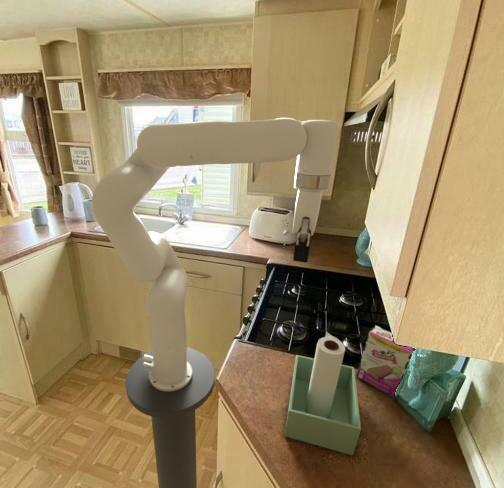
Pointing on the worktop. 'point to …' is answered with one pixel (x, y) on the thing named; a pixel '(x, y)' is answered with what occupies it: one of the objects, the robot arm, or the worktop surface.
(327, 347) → the paper towel roll
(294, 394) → the bin
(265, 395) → the worktop surface
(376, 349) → the candy bar box
